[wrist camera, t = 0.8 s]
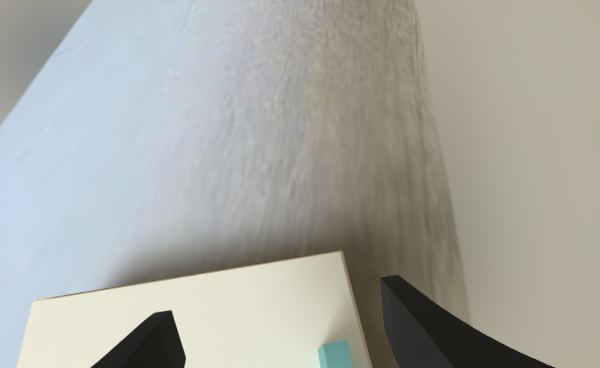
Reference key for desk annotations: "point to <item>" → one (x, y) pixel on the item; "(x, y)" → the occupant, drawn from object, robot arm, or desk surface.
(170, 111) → the desk surface
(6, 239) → the desk surface
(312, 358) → the lid flap
